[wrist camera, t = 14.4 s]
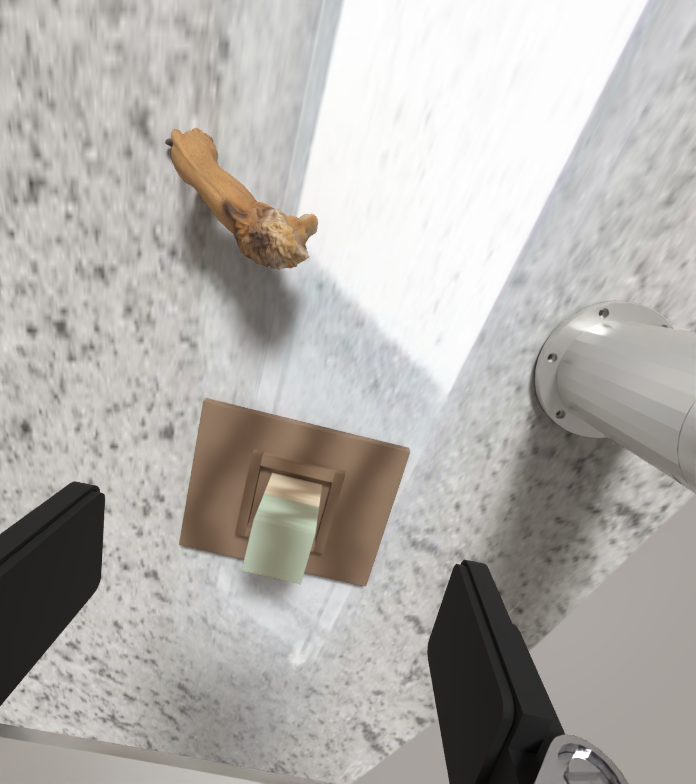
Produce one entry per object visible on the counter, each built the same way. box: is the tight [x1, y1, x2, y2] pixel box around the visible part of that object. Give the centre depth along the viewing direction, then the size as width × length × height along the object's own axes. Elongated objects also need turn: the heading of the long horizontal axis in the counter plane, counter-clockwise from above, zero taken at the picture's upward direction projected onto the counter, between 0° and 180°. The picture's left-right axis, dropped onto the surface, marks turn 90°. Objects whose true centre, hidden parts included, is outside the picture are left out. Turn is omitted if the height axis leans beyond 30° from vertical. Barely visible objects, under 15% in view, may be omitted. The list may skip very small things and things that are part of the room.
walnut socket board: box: [179, 399, 410, 586], centre depth 41 cm, size 20×16×2 cm
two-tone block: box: [242, 472, 322, 584], centre depth 37 cm, size 5×5×8 cm
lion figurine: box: [165, 128, 318, 270], centre depth 30 cm, size 15×5×9 cm, turn 52°
